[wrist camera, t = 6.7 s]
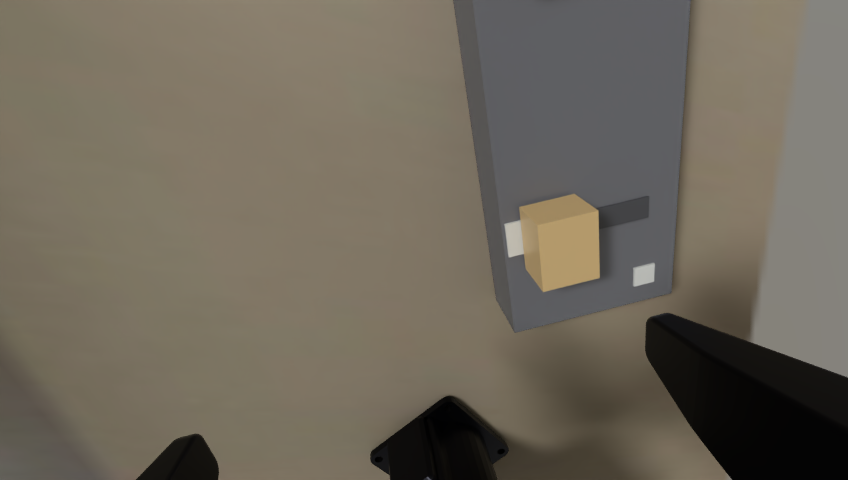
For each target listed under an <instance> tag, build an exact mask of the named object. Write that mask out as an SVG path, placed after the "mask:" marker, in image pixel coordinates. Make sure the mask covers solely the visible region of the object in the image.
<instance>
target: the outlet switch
mask: <svg viewBox="0 0 848 480" xmlns="http://www.w3.org/2000/svg"><path fill="white" fill-rule="evenodd" d="M519 211H520V220H521V230H522V240H523V249H524V259H525V268H526V270H527V271H528V273H529V274H530V275H531V277H532V278H533V279H534V281H535V282H536V283H537V285H538V286H539V287H540V289H541V290H542V291H543V292H546V291H550V290H554V289H558V288H562V287H566V286H570V285H574V284H578V283H582V282H586V281H590V280H594V279H598V278H600V263H599V211H598V210H597V209H595V208H594V207H593V206H591V205H590V204H588V203H587V202H585V201H584V200H583V199H581V198H580V197H578V196H577V195H575V194H571V195H567V196H563V197H559V198H555V199H550V200H546V201H542V202H538V203H534V204H530V205H525V206H521V207H519Z"/></svg>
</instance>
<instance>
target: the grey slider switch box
mask: <svg viewBox="0 0 848 480" xmlns="http://www.w3.org/2000/svg"><path fill="white" fill-rule="evenodd" d="M453 1H454V8H455V15H456V22H457V29H458V36H459V43H460V50H461V57H462V64H463V71H464V78H465V85H466V92H467V99H468V106H469V113H470V120H471V127H472V134H473V141H474V147H475V154H476V161H477V168H478V175H479V182H480V189H481V196H482V203H483V210H484V217H485V224H486V231H487V238H488V245H489V252H490V259H491V266H492V273H493V280H494V287H495V294H496V300H497V302H498V304H499V305H500V307H501V309H502V311H503V313H504V314H505V316H506V318H507V320H508V322H509V324H510V325H511V327H512V329H513V331H514V333H516V332H520V331H523V330H527V329H531V328H535V327H539V326H543V325H547V324H551V323H555V322H559V321H563V320H567V319H571V318H575V317H579V316H583V315H587V314H590V313H594V312H598V311H602V310H606V309H610V308H614V307H618V306H622V305H626V304H630V303H634V302H638V301H642V300H646V299H650V298H654V297H657V296H661V295H665V294H669V293H671V290H672V275H673V259H674V244H675V229H676V214H677V199H678V183H679V168H680V153H681V138H682V123H683V108H684V92H685V77H686V62H687V47H688V32H689V16H690V1H691V0H453ZM571 194H575V195H577V196H578V197H580V198H581V199H583V200H584V201H585V202H587V203H588V204H590V205H591V206H593V207H594V208H595V209H597V210H598V211H599V263H600V278H598V279H594V280H590V281H586V282H582V283H578V284H574V285H570V286H566V287H562V288H558V289H554V290H550V291H546V292H543V291H542V290H541V289H540V287H539V286H538V285H537V283H536V282H535V281H534V279H533V278H532V277H531V275H530V274H529V273H528V271H527V270H526V268H525V259H524V249H523V240H522V230H521V220H520V211H519V207H521V206H525V205H530V204H534V203H538V202H542V201H546V200H550V199H555V198H559V197H563V196H567V195H571Z"/></svg>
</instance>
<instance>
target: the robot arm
mask: <svg viewBox="0 0 848 480" xmlns="http://www.w3.org/2000/svg"><path fill="white" fill-rule="evenodd" d="M645 351H646V355H647V358H648V360H649V362H650V363H651V365H652V367H653V368H654V370H655V371H656V373H657V374H658V376H659V378H660V379H661V381H662V382H663V384H664V385H665V387H666V389H667V390H668V392H669V393H670V395H671V396H672V398H673V400H674V401H675V403H676V404H677V406H678V408H679V409H680V411H681V412H682V414H683V415H684V417H685V418H686V420H687V421H688V423H689V424H690V426H691V427H692V429H693V430H694V431H695V433H696V434H697V435H698V437H699V438H700V439H701V441H702V442H703V443H704V445H705V446H706V447H707V448H708V450H709V451H710V452H711V453H712V455H713V456H714V457H715V459H716V460H717V461H718V462H719V464H720V465H721V466H722V467H723V469H724V470H725V471H726V473H727V474H728V475H729V476H730V478H731V479H732V480H848V378H847V377H845V376H842V375H839V374H837V373H834V372H831V371H828V370H826V369H822V368H820V367H817V366H814V365H812V364H809V363H806V362H803V361H801V360H798V359H795V358H792V357H789V356H787V355H784V354H781V353H779V352H776V351H773V350H770V349H767V348H765V347H762V346H759V345H756V344H754V343H751V342H748V341H745V340H743V339H740V338H737V337H734V336H732V335H729V334H726V333H723V332H721V331H718V330H715V329H712V328H709V327H707V326H704V325H701V324H698V323H696V322H693V321H690V320H687V319H685V318H682V317H679V316H676V315H674V314H670V313H664V314H660V315H656V316H652V317H650V318H648V320H647V322H646V340H645ZM446 405H449V406H446ZM508 451H509V449H508V446H507V444H506V442H505V441H504V440H502V439H501V438H500V437H499V436H498V435H496V434H495V433H494V432H493V431H492V430H490V429H489V428H488V427H487V426H486V425H484V424H483V423H482V422H481V421H480V420H479V419H477V418H476V417H475V416H474V415H473V414H471V413H470V412H469V411H468V410H467V409H465V408H464V407H463V406H462V405H461V404H460V403H458V402H457V401H456V400H455V399H454V398H452V397H444V398H442V399H441V400H439V401H438V402H437V403H435V404H434V405H433V406H431V407H430V408H429V409H427V410H426V411H425V412H423V413H422V414H421V415H419V416H418V417H417V418H415V419H414V420H413V421H411V422H410V423H409V424H407V425H406V426H405V427H403V428H402V429H401V430H399V431H398V432H396V433H395V434H394V435H392V436H391V437H390V438H388V439H387V440H386V441H384V442H383V443H382V444H380V445H379V446H378V447H376V448H375V449H374V450H373V451H372V452H371V454H370V459H371V463H372V464H374V465H375V466H377V467H378V468H380V469H381V470H383V471H384V472H386V473H387V474H389V475H390V480H497V477H496V474H495V471H494V468H493V465H492V464H494V463H495V462H496V461H498V460H499V459H501V458H502V457H504V456H505V455H506V454H507V453H508ZM379 456H380V457H379ZM218 475H219V468H218V463H217V461H216V459H215V457H214V455H213V453H212V452H211V450H210V448H209V447H208V445H207V443H206V442H205V440H204V438H203V437H202V436H201V435H199V434H192V435H188V436H184V437H180V438H178V439H176V440H174V441H173V442H172V443H171V444H170V445H169V446H168V447H167V448H166V449H165V450H164V451H163V452H162V453H161V454H160V455H159V456H158V457H157V458H156V460H155V461H154V462H153V463H152V464H151V465H150V466H149V467H148V468H147V469H146V470H145V471H144V472H143V473H142V474H141V475H140V476H139V477H138V478H137V479H136V480H218Z"/></svg>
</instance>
